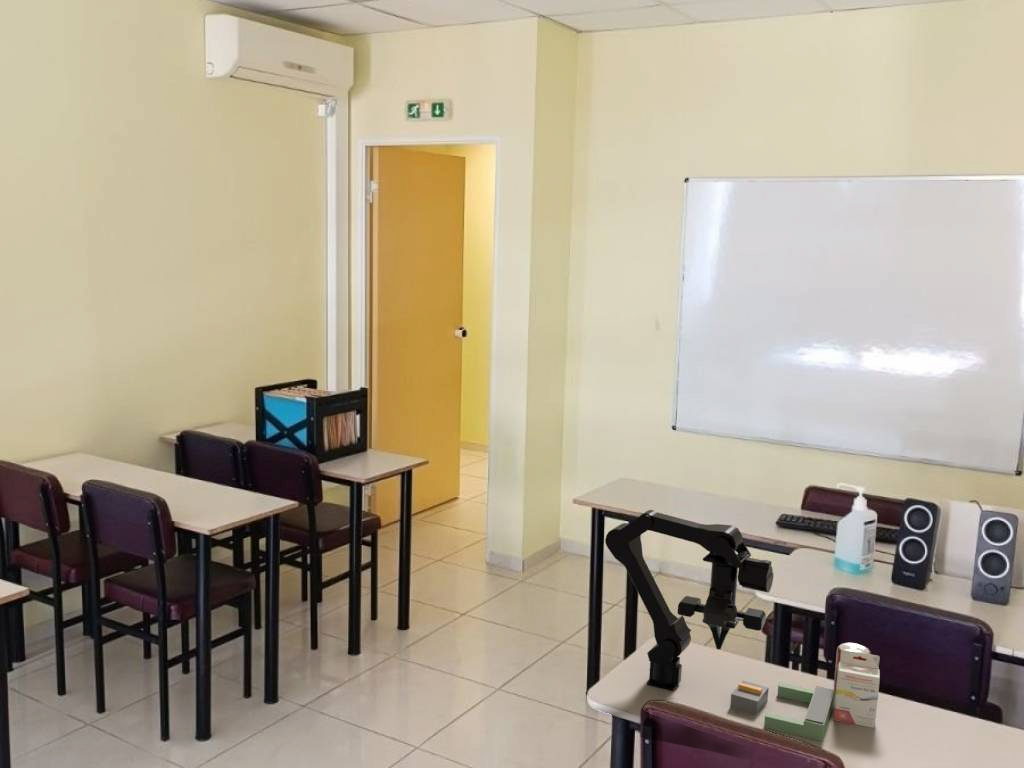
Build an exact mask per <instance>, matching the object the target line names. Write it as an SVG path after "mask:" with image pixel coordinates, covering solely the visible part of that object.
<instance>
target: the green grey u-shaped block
mask: <svg viewBox="0 0 1024 768" xmlns="http://www.w3.org/2000/svg"><path fill="white" fill-rule="evenodd" d="M834 691H835V690H834V688H829V687H824V686H818V685H816V686H815V689H812V688H807V687H802V686H798V685H794V684H789V683H785V682H779V684H778V686H777V696H776V697H780V698H783V699H788V700H791V701H792V700H794V701H797V702H803V703H805V704H808V705H809V706H808V708H807V711H806V713H805V717H804V720H802V719H797V718H793V717H789V716H784V715H780V714H776V713H772V712H766V713H765V715H764V723H763V725H764V726H763V728H764V729H765V728H767V729H770V730H775V731H778V732H783V733H787V734H791V735H795V736H799V737H804V738H808V739H812V740H817V741H819V742H820V741H821V742H823V741H824V738H825V733H826V730H827V728H828V727H827V726H828V723H829V721H830V717H831V714H832V710H833V707H834V703H835V696H834Z"/></svg>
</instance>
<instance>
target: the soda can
mask: <svg viewBox="0 0 1024 768" xmlns="http://www.w3.org/2000/svg"><path fill="white" fill-rule="evenodd" d="M841 650H847V651H854V652H860V653H865V654H871V655H872V652H871V650H869V648H868V647H867V646H864V645H862V644H858V643H856V642H843V643H841V644H840V645H838V646H837V648H836V656H835V667H834V668H835V669H834V670H835V671H834V679H833V681H834V682H833V690H835V691H834V697H835V695H836V686H837V676H838V666H839V662H840V656H841ZM853 659H857V660H862V661H866V660H867V659H865V658H862V657H861V656H859V657H853Z"/></svg>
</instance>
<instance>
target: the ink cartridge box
mask: <svg viewBox="0 0 1024 768" xmlns="http://www.w3.org/2000/svg"><path fill="white" fill-rule="evenodd" d="M859 656H861V657H862V658H865V659H867V660H866V661H862V660H857V659H853V657H859ZM880 660H881V659H880V655H876V654H872V653H871V654H865V653H860V652H854V651H847V650H841V656H840V662H839V666H838V676H837V686H836V695H835V696H834V704H833V707H834V708H833V720H834V721H838V722H842V723H847V724H852V725H857V726H862V727H866V728H871V729H875V728H876V718H877V710H878V709H877V708H878V699H879V689H880V679H881V678H880V676H881V675H880V671H881V670H880V669H879V668H880V667H879V665H880Z"/></svg>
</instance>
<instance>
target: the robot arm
mask: <svg viewBox="0 0 1024 768" xmlns="http://www.w3.org/2000/svg"><path fill="white" fill-rule="evenodd" d="M647 531H651V532H654V533H657V534H661V535H664V536H665V535H666V536H668V537H672V538H676V539H679V540H683V541H687V542H691V543H694V544H696V545H699V546H701V547H702V548H703V549H704V550H705V551H707V552H709V553H708V554H706V555H705V556H704V557H703V558H702V561H703V562H706V563H711V571H710V573H711V574H710V585H709V592H708V596H707V599H706V602H705V604H703V603H702V599H701V598H700V597H694V596H689V595H685V596H684V597H682V599H681V600H680V601H679V602H678V605H677V614H678V615H679V617H678V616H676V615H675V614H673V613H672V611H671V609H670V607H669V606H668V604H667V602H666V599H665V597H664V596H663V593H662V592H661V590H660V588H659V586H658V584H657V582H656V580H655V577H654V576H653V573H652V572H651V570H650V569H649V566H648V564H647V562H646V561H645V558H644V554H643V545H642V540H641V537H640V536H642V535H643V534H644V533H645V532H647ZM604 542H605V545H606V547H607V549H608V550H609V553H611V554H612V556H613V557H614V558H615V560H617V561H618V562H619V563H621V565H623V566H624V567H625V570H626V571H627V574H628V575H629V578H630V579H631V581H632V583H633V586H634V587H635V590H636V591H637V593H638V595H639V597H640V599H641V601H642V603H643V604H644V608H645V609H646V611H647V613H648V615H649V617H650V618H651V620H652V624H653V634H654V639H655V641H656V643H655V645H654V646H652V647H651V649H649V650H648V652H647V657H648V661H649V676H648V680H647V681H646V685H648V686H653V687H656V688H662V689H665V690H670V691H674V690H675V689H676V688H677V686H678V685H679V684H680V682H681V681H682V672H683V671H682V670H683V669H682V667H683V665H682V663H681V657H680V655H681V654H682V653H683V652H684V651H685V650H686V649H687V648H688V647H689V646H690V643H691V640H692V636H691V632H692V630H691V629H690V627H689V626H688V625H687V623H686V619H685V617H687V618H691V617H693V616H694V615H696V613H700V614H701V613H702V614H703V615H702V616H703V619H702V623H703V624H706V625H707V626H708V627H709V629H710V631H711V634H712V637H713V641H714V644H715V648H716V650H722V648H723V644H724V643H725V640H726V638H727V636H728V633H729V631H730V630H731V629H735V628H736V627H737V626H738V624H739V622H740V621H742V625H743V626H744V628H745V629H747V630H752V631H753V630H754V631H762V629H763V628H764V626H765V623H766V620H767V619H766V617H767V615H766V612H765V611H764V610H762V609H757V608H752V607H748V608H747V609H746V611H745V612H744V611H740V610H738V608H737V605H736V603H737V601H736V599H737V598H736V597H737V587H738V584H739V585H740V586H741V587H742V588H744V589H749V590H753V591H758V592H764V593H767V594H769V593H770V592H771V589H772V588H773V587H772V586H773V582H774V572H773V566H772V561H771V560H767V559H758V558H752V554H751V551H750V550H749V549H748V547H747V545H746V544H745V542H744V540H743V534H742V532H741V531H740V529H739V528H738V527H736V526H734V525H729V524H719V523H718V524H717V523H715V524H703V523H699V522H695V521H692V520H688V519H684V518H680V517H676V516H672V515H669V514H664V513H661V512H657V511H656V510H654V509H649V510H646V511H644V512H643V513H642V514H640V515H639V516H638V517H637V518H636V519H634V520H633V521H631V522H630V523H628V522H627V523H625V522H624V523H620V524H618V525H617V526H616V527H614V528H612V529H611V530H609V531H608V532H607V534H606V535H605V540H604ZM737 583H738V584H737Z"/></svg>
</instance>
